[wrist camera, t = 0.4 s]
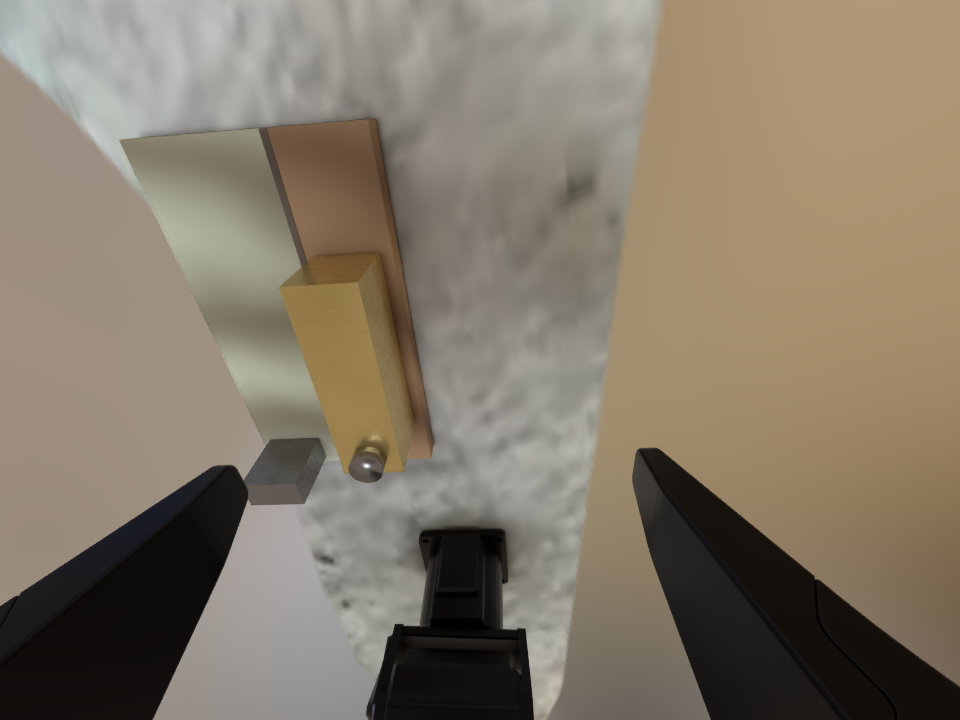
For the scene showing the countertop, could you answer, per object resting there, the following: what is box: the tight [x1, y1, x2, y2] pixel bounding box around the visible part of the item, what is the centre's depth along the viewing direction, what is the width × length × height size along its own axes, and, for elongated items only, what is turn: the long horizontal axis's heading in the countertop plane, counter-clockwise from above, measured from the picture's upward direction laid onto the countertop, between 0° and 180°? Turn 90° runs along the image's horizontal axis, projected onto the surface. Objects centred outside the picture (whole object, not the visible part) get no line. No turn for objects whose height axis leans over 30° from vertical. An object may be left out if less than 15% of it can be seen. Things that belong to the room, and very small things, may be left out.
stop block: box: [244, 438, 326, 505], centre depth 24 cm, size 2×3×4 cm, turn 94°
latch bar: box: [279, 252, 415, 483], centre depth 19 cm, size 10×3×4 cm, turn 4°
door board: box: [119, 118, 433, 461], centre depth 21 cm, size 18×10×1 cm, turn 4°
